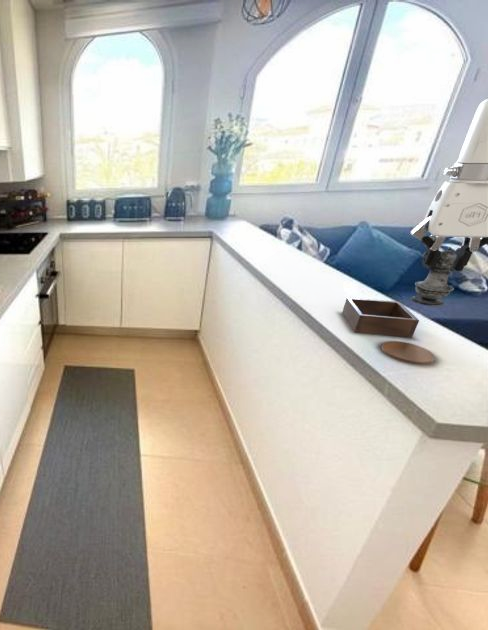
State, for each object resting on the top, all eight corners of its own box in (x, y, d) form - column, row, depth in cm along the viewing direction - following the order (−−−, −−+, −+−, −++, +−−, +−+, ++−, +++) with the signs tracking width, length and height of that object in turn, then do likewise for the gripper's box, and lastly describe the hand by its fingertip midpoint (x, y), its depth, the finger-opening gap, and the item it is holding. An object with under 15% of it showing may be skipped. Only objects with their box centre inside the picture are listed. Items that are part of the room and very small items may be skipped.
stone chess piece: (401, 297, 76) (421, 244, 71) (425, 294, 77) (447, 242, 72) (429, 308, 71) (453, 252, 66) (455, 305, 72) (481, 249, 66)
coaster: (422, 346, 81) (423, 344, 81) (442, 367, 74) (443, 364, 74) (375, 341, 85) (376, 339, 84) (389, 360, 77) (390, 358, 77)
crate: (392, 318, 94) (399, 301, 92) (411, 338, 85) (419, 320, 83) (341, 313, 99) (346, 297, 96) (354, 332, 89) (360, 315, 87)
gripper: (432, 176, 63) (397, 271, 71) (564, 172, 57) (509, 277, 65) (414, 173, 69) (383, 261, 77) (531, 169, 63) (485, 265, 71)
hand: (441, 267), depth 71 cm, fingers closed on stone chess piece, 3 cm apart
